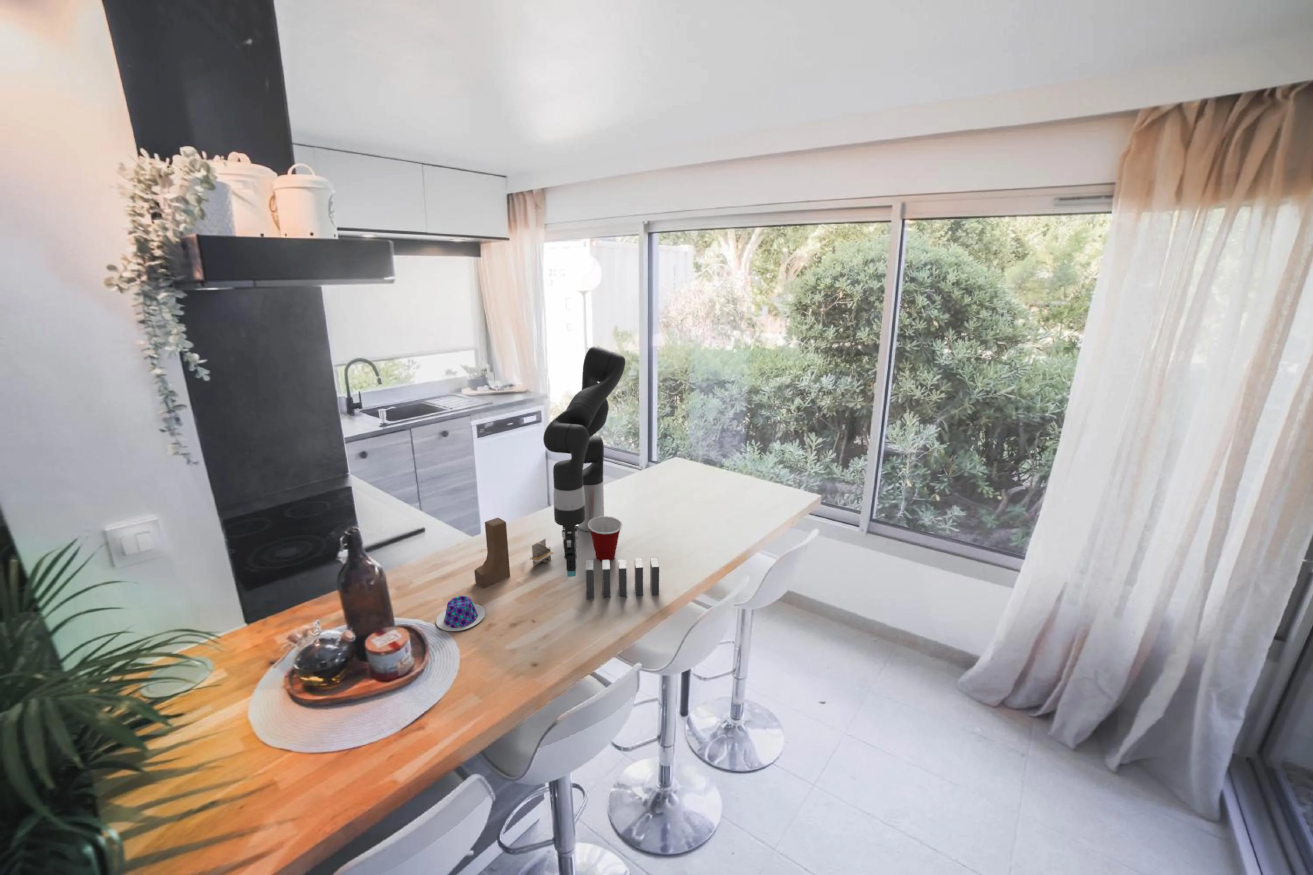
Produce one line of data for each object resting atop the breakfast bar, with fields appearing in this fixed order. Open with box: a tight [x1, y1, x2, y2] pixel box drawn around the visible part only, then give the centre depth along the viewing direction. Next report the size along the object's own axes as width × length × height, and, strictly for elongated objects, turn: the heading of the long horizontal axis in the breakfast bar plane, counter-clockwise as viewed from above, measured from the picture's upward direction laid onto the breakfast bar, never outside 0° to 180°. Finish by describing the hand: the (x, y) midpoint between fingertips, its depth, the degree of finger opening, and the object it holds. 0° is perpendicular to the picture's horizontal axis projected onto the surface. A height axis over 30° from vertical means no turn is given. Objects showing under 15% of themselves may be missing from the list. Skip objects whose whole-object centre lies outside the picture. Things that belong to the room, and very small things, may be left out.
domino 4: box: [617, 558, 628, 598], centre depth 149 cm, size 2×5×9 cm, turn 6°
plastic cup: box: [588, 515, 623, 563], centre depth 167 cm, size 11×11×12 cm
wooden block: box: [473, 517, 511, 589], centre depth 153 cm, size 9×4×18 cm, turn 136°
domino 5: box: [634, 557, 644, 598], centre depth 150 cm, size 2×5×9 cm, turn 6°
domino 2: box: [585, 560, 595, 600], centre depth 148 cm, size 2×5×9 cm, turn 6°
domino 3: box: [601, 560, 611, 599], centre depth 149 cm, size 2×5×9 cm, turn 6°
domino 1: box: [566, 558, 577, 578], centre depth 135 cm, size 2×5×9 cm, turn 6°
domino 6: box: [649, 557, 660, 597], centre depth 150 cm, size 2×5×9 cm, turn 6°
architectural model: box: [529, 538, 554, 567], centre depth 164 cm, size 3×7×7 cm, turn 145°
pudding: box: [435, 595, 486, 632], centre depth 138 cm, size 12×12×5 cm
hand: (571, 564), depth 135 cm, fingers closed on domino 1, 5 cm apart
